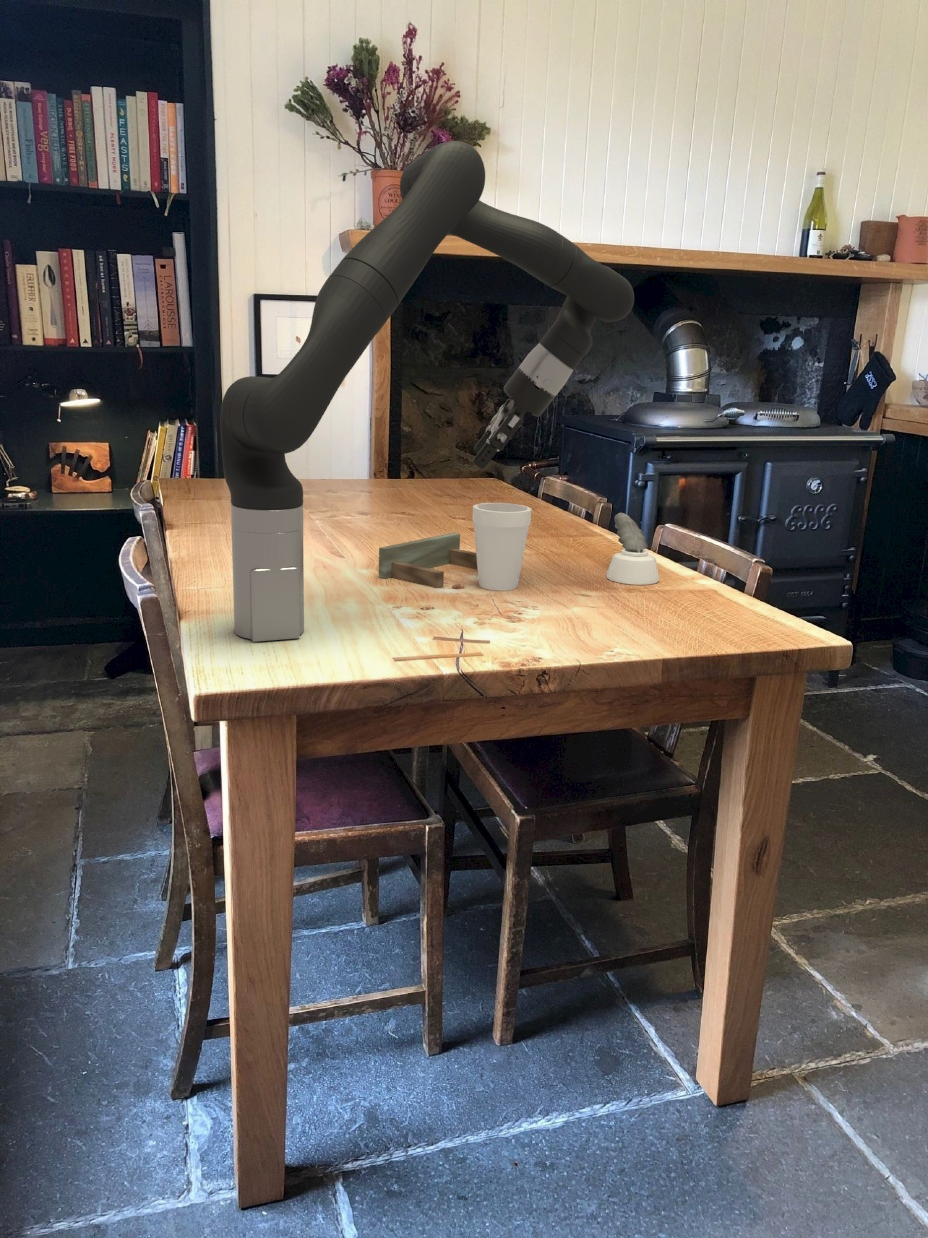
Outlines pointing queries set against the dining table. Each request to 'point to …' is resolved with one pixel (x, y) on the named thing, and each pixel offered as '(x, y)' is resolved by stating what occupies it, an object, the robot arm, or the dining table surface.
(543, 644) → the dining table surface
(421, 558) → the dock
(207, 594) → the dining table surface
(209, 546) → the dining table surface
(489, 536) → the foam cup
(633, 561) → the inkwell
